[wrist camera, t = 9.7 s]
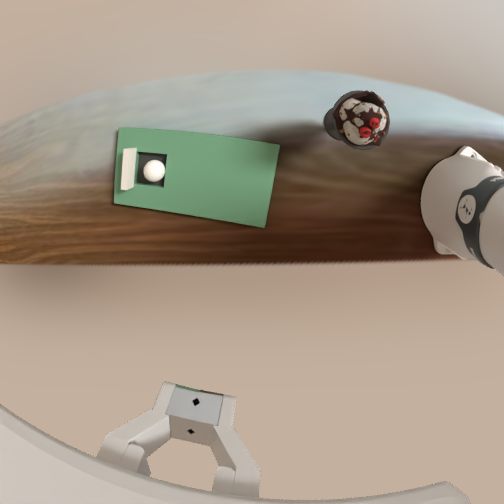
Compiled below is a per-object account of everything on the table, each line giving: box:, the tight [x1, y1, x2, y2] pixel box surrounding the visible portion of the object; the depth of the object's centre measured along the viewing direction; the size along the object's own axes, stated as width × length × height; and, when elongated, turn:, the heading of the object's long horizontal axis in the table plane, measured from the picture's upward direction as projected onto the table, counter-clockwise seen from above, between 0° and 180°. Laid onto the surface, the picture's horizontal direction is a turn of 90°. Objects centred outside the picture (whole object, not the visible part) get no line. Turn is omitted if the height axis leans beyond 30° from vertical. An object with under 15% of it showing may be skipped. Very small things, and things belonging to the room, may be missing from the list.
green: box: [114, 128, 280, 228], centre depth 40 cm, size 24×12×4 cm, turn 80°
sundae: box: [325, 91, 390, 150], centre depth 30 cm, size 7×7×15 cm
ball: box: [144, 160, 165, 182], centre depth 40 cm, size 3×3×3 cm
